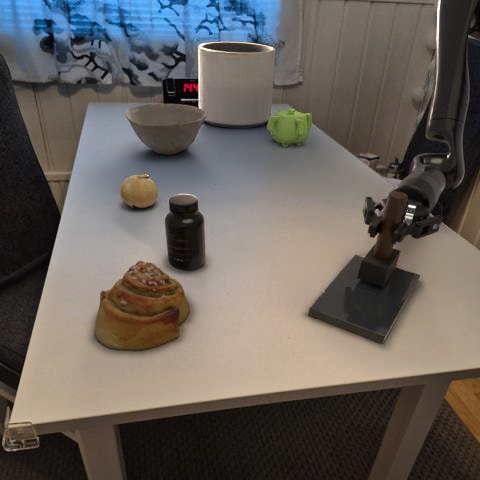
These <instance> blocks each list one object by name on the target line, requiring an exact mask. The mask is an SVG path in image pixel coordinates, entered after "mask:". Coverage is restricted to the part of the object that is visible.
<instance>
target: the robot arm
mask: <svg viewBox="0 0 480 480" xmlns="http://www.w3.org/2000/svg"><path fill="white" fill-rule="evenodd" d="M437 1H438V2H437V10H436V36H435V58H434V59H435V61H434V63H435V64H434V74H433V75H434V76H433V85H432V93H431V97H430V103H429V109H428V113H427V119H426V126H425V132H424V136H425V138H426V139H427V140H428V141H430V142H433V143H438V144H442V145H444V146H446V147H447V149H448V150H447V151H448V152H447V153H441V152H439V153H438V152H436V153H435V152H431V153H429V152H428V153H427V152H425V153H420V154H417V155H415V156H414V157H413V159H411V162H410V164H409V168H408V175H407V176H406V177H404V178H403V179H402V180H401V181H400V182H399V183H398V184H397V185H396V186H395V187H394V188H393V190H392V191H398V192H403V193H405V194H407V195H408V198H407V202H406V205H405V208H404V212H403V215H402V219H401V222H400V224H399V225H398V227H397V228H396V229H395V231H394V233H393V236H392V239H391V243H392V244H394V245H397V243H398V244H399V243H402V242H403V241H404V239H405V238H407V237H408V236H411V238H413V239H414V240H415V239H416V240H419V239H421V238H424V237H428V236H429V235H433V234H436V233H438V232H439V231H440V229H441V226H442V223H443V220H444V216H442V215H439V214H436V215H430V214H431V212H432V211H433V210H434V209H435V207H436V205H437V203H438V202H439V198H440V196H441V195H442V194H443V192H444V191H453V190H455V189H456V188H458V187H459V186H460V185H461V184H462V182H463V180H464V177H465V169H466V168H465V159H464V150H463V149H464V148H463V147H464V146H463V139H464V129H465V123H466V118H467V113H468V108H469V103H470V91H471V90H470V85H471V84H470V74H469V64H468V63H469V62H468V41H469V37H471V38H474V39H476V40H478V41H480V0H437ZM387 199H388V196H387V197H386V198H383V199H381V200H380V201H376V200H374V198H373V197H372V196H365V197H364V202H363V206H362V217H363V221H364V225H366V226H368V229H367V234H369V238H372V239H375V238H376V236H378V233H379V229H380V226H381V222H382V218H383V214H384V210H385V206H386V203H387ZM376 210H378V212H376Z"/></svg>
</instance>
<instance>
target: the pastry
mask: <svg viewBox="0 0 480 480" xmlns="http://www.w3.org/2000/svg"><path fill="white" fill-rule="evenodd" d="M190 308H191V307H190V303H189V301H188V299H187V297H186V295H185V290H184V288H183V285H182V284H181V283H180V282H179V281H178V280H177V279H175V278H173V277H170V275H169V274H167V273H166V272H165V271H163V270H162V269H161V268H159V267H157V266H156V265H155V264H154V263H152V262H148V261H144V260H138V261H136V263H135V264H133V265H131V266H130V267H129V268H128V270H127V271H126V272H125V273H124V274H123V276H122V277H121V278H119V279H118V280H117V281H116V282H115V283H114V284H113V286H112V287H111V288H110V289H107V290H101V291H100V297H99V306H98V308H97V309H98V310H97V314H96V318H95V319H96V320H95V326H94V335H95V337H96V339H97V341H99V342H100V343H101V344H102V345H104V346H105V347H107V348H109V349H115V350H131V351H143V350H147V349H148V350H149V349H152V348H155V347H158V346H161V345H163V344H166V343H167V342H169V341H172V340H175V339H177V338H178V337H179V336H180V325H181V324H182V323H184V321H185V320H187V317H188V316H189V314H190Z"/></svg>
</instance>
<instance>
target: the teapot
mask: <svg viewBox="0 0 480 480" xmlns="http://www.w3.org/2000/svg"><path fill="white" fill-rule="evenodd" d="M311 128H313V114H312V113H310V112H308V113H307V112H306V113H302V112H301V111H298V110H296V109H295V108H287V110H282V109H278V110H277V112H276V113H275V115H271V116H269V120H268V121H267V125H266V130H268V131H269V132H270V136H271V138H273V139H274V142H276V143H281V146H282V147H284V148H285V147H289V144H295V145H296V146H302V145H303V144H302V143H303V142H305V141H306V140H307V139H308V136H309V130H310V129H311Z"/></svg>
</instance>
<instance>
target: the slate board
mask: <svg viewBox="0 0 480 480" xmlns="http://www.w3.org/2000/svg"><path fill="white" fill-rule="evenodd" d="M364 257H365V256H361V255H358V254H355V255H353V257H352V258H351V259H350V260H349V261H348V263H346V265H345V266H344V267H343V268H342V270H340V271H339V273H338V274H337V275H336V276H335V278H334V279H332V281H331V282H330V283H329V284H328V286H327V287H326V288H325V289H324V290H323V292H322V293H321V294H320V295H319V296H318V298H316V299H315V300H314V302H313V303H312V305H310V306H309V308H308V315H307V316H309V317H312V318H315V319H317V320H320V321H322V322H324V323H327V324H330V325H332V326H335V327H337V328H341V329H343V330H346V331H348V332H351V333H353V334H356V335H358V336H361V337H364V338H366V339H369V340H370V341H374V342H377V343H379V344H381V345H382V344H384V342H385V340H386V339H387V337H388V335H389V334H390V332H391V331H392V328H393V327H394V325H395V323H396V322H397V320H398V318H399V316H400V314H401V313H402V311H403V309H404V308H405V306H406V305H407V302H409V301H408V300H409V299H410V297H411V295H412V293H413V292H414V290H415V288H416V286H417V285H418V283H419V281H420V278H421V275H420V274H419V273H415V272H412V271H409V270H405V269H402V268H400V267H396V268H395V270H394V271H393V273H392V274H391V276H390V277H389V278H388V280H387V281H386V283H385V284H384V286H383V287H382V286H379V285H376V284H373V283H370V282H367V281H364V280H361V279H359V278H357V277H358V273H359V269H360V265H361V261H362V259H363V258H364Z"/></svg>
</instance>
